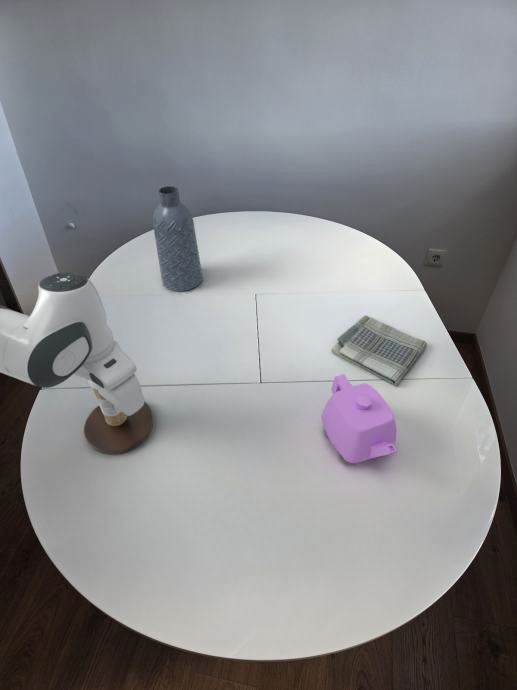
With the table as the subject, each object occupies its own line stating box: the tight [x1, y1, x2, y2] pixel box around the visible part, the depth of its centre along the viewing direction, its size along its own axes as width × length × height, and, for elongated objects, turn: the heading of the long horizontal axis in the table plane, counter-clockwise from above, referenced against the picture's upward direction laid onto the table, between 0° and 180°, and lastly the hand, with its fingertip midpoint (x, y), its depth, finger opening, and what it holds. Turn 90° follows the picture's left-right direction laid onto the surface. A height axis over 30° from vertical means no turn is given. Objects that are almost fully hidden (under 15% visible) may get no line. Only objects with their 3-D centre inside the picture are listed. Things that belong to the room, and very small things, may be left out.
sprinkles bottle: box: [89, 381, 127, 426], centre depth 85 cm, size 5×5×13 cm
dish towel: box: [330, 315, 428, 386], centre depth 107 cm, size 19×18×3 cm
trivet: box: [83, 401, 154, 456], centre depth 91 cm, size 14×14×2 cm
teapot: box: [321, 373, 398, 464], centre depth 84 cm, size 20×12×13 cm, turn 22°
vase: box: [152, 185, 203, 292], centre depth 121 cm, size 12×12×28 cm
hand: (110, 402), depth 86 cm, fingers closed on sprinkles bottle, 4 cm apart
